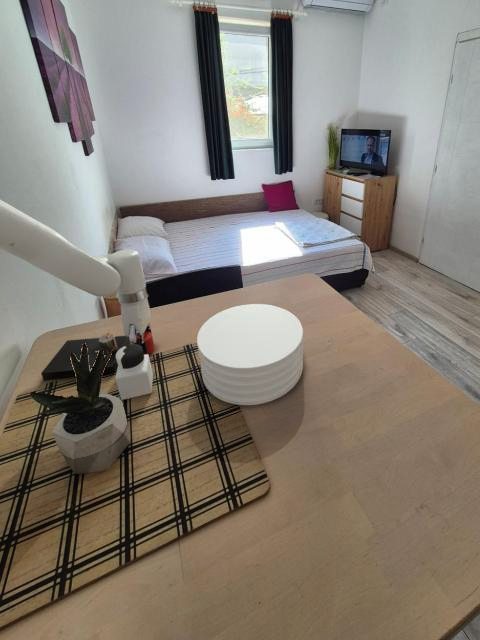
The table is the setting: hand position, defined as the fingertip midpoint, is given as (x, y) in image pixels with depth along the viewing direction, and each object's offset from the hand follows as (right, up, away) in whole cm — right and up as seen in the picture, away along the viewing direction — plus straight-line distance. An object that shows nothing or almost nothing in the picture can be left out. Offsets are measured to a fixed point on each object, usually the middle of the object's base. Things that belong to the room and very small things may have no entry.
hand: (144, 346), depth 97 cm
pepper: (0, -1, +1) cm, 2 cm away
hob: (-15, -3, -3) cm, 15 cm away
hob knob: (-9, 0, -3) cm, 9 cm away
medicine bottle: (+4, -7, -13) cm, 15 cm away
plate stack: (+33, -4, -6) cm, 34 cm away
